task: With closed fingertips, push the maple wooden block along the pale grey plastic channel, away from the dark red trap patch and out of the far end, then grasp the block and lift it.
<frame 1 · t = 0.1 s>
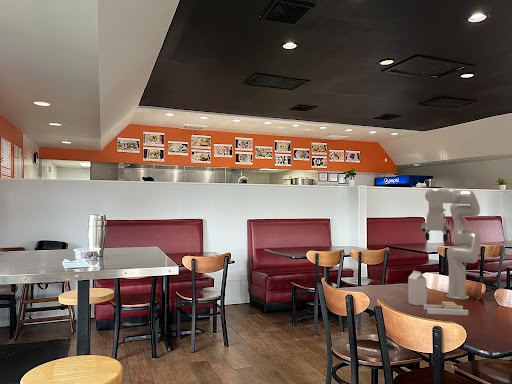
hand: (436, 240, 234), 37 cm above the table, tool pointing down, fingers open, 9 cm apart
milk carton: (417, 304, 240), on the table
maple block: (449, 312, 222), on the table
channel: (445, 312, 222), on the table
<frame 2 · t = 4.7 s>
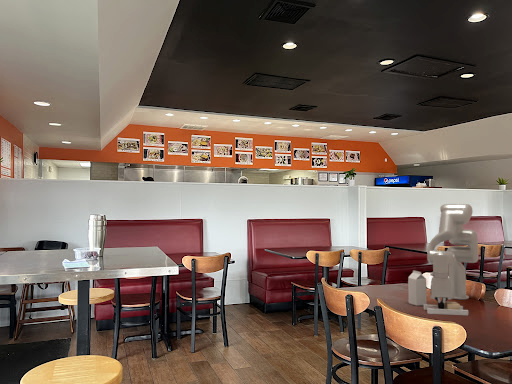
hand: (441, 309, 223), 1 cm above the table, tool pointing down, fingers closed
maple block: (452, 312, 222), on the table
everything else where it was.
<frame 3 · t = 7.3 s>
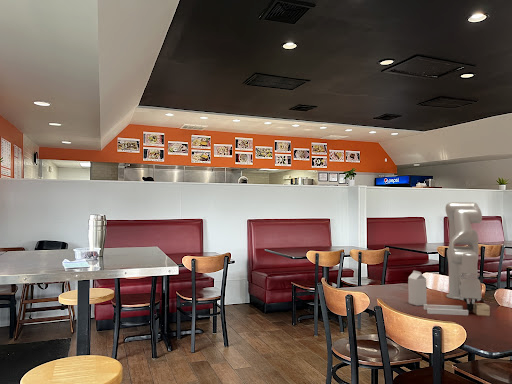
hand: (470, 311, 220), 1 cm above the table, tool pointing down, fingers closed
maple block: (481, 314, 219), on the table
everything else where it was.
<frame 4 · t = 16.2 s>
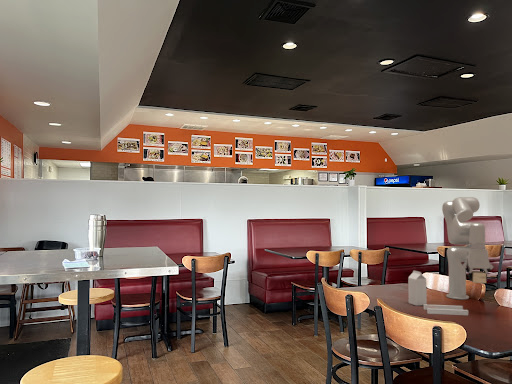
hand: (477, 280, 220), 17 cm above the table, tool pointing down, fingers closed on maple block, 6 cm apart
maple block: (478, 281, 219), point 17 cm above the table, touching gripper
everything else where it was.
at the end: the gripper is holding maple block; maple block point 16.8 cm above the table; maple block inside the target area (0.6 cm from its centre), point 16.8 cm above the table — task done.
